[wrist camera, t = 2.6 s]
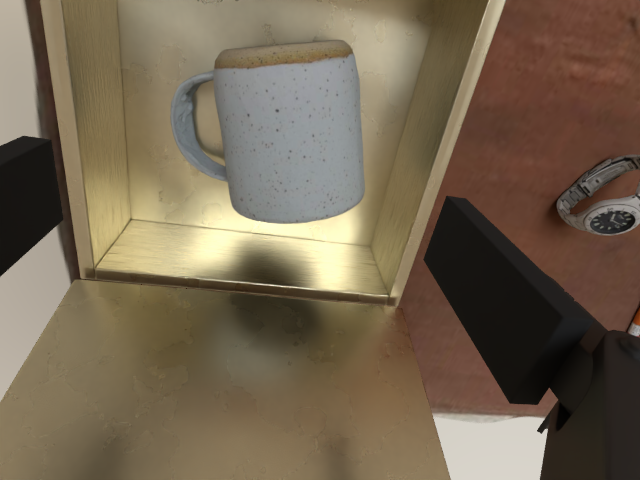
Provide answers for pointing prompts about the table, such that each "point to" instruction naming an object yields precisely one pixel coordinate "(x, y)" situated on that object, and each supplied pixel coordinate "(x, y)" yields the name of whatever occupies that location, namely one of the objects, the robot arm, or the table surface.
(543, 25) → the table surface
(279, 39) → the open metal box
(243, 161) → the ceramic mug
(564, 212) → the wristwatch
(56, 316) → the box lid
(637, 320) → the pencil
